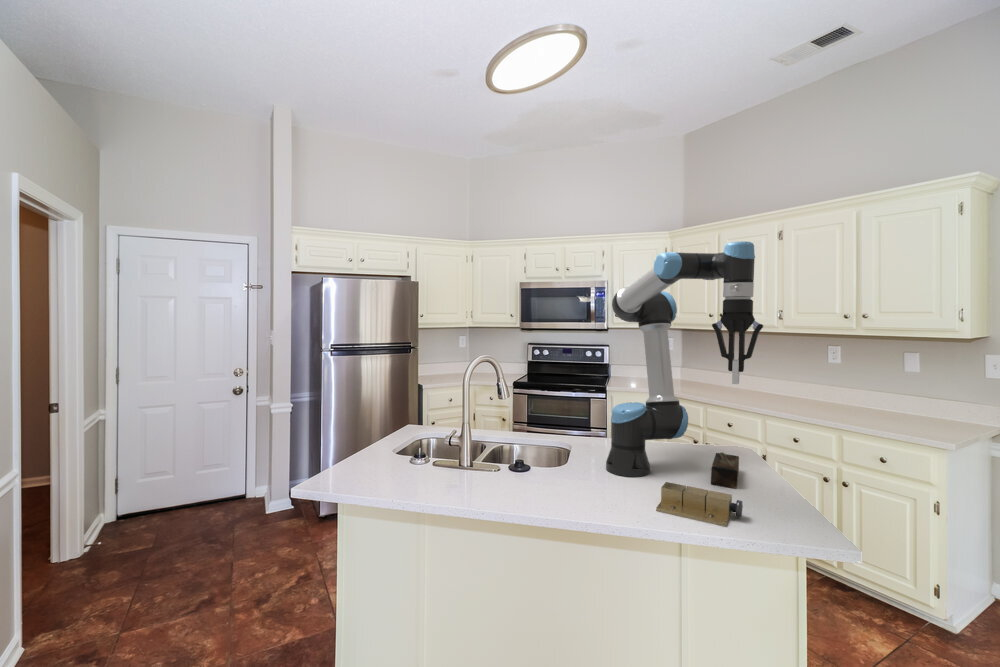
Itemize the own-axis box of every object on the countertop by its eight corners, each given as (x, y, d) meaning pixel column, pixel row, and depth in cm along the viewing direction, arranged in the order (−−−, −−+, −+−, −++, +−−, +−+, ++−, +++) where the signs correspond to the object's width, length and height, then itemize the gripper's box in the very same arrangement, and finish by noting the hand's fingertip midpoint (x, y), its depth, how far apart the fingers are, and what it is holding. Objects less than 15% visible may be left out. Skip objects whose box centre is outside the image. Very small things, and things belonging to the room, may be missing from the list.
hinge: (656, 510, 136) (656, 492, 136) (669, 493, 149) (670, 477, 149) (725, 526, 127) (726, 507, 126) (733, 506, 139) (734, 489, 139)
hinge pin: (667, 504, 140) (667, 489, 140) (670, 499, 144) (671, 484, 144) (740, 520, 130) (740, 504, 129) (742, 514, 133) (742, 498, 133)
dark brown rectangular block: (739, 472, 170) (740, 453, 169) (737, 490, 153) (738, 470, 152) (714, 468, 173) (715, 450, 173) (710, 486, 156) (710, 466, 156)
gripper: (710, 298, 134) (708, 383, 135) (763, 298, 127) (760, 387, 128) (714, 299, 140) (712, 379, 141) (765, 298, 133) (763, 383, 134)
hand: (735, 383), depth 134 cm, fingers closed
